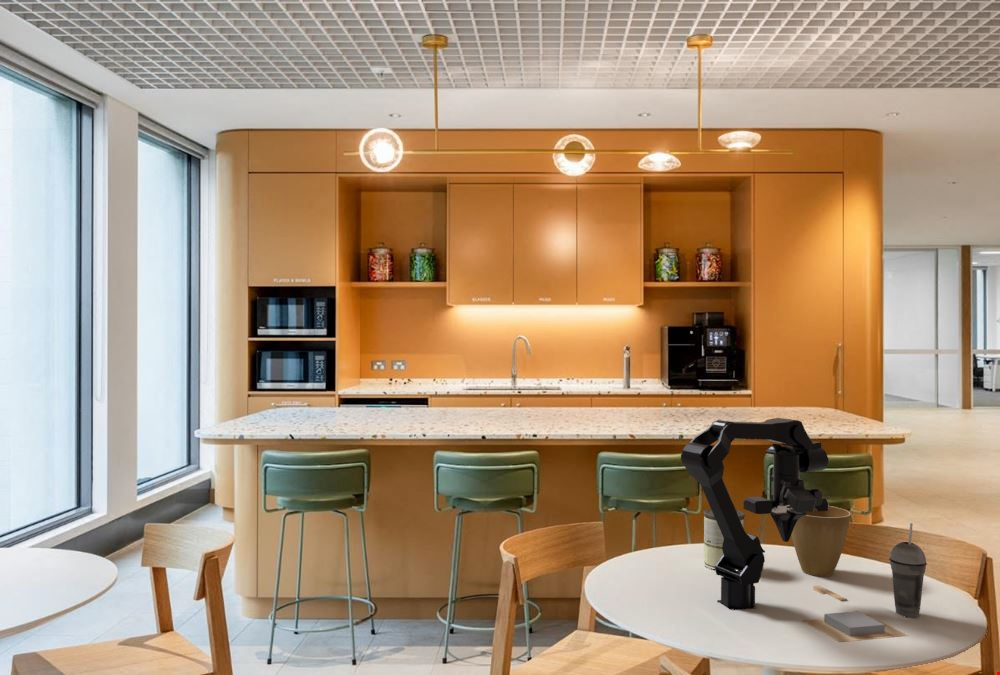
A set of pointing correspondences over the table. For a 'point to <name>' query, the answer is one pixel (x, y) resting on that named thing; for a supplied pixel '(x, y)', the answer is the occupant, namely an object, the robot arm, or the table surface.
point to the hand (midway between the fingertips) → (785, 541)
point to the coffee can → (714, 538)
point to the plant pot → (820, 540)
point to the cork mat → (843, 637)
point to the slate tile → (854, 623)
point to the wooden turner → (826, 591)
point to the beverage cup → (907, 576)
